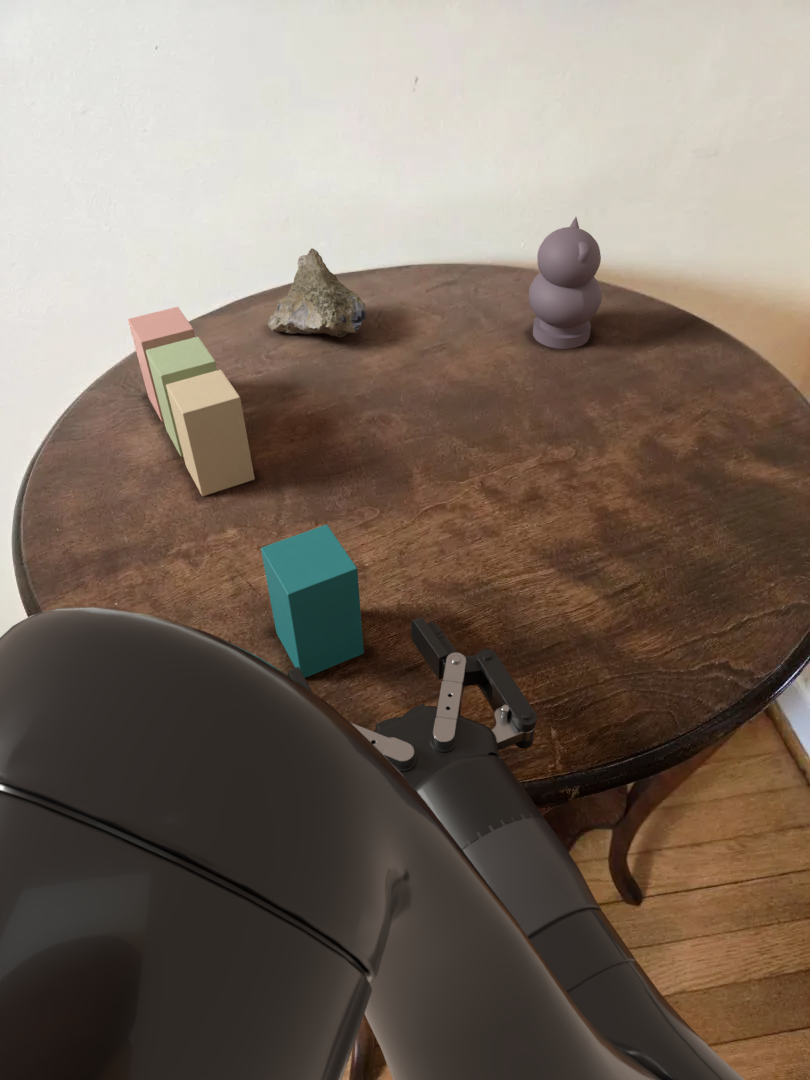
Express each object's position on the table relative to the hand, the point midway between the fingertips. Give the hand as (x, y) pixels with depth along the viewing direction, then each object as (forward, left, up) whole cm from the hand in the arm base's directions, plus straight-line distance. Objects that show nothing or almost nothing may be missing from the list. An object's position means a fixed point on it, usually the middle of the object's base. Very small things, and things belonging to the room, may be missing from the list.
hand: (355, 651), depth 53 cm
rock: (+37, +37, -7) cm, 53 cm away
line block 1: (+18, +39, -7) cm, 44 cm away
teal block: (+3, +7, -7) cm, 10 cm away
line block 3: (+13, +28, -7) cm, 31 cm away
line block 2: (+16, +33, -7) cm, 38 cm away
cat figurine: (+53, +15, -7) cm, 56 cm away
